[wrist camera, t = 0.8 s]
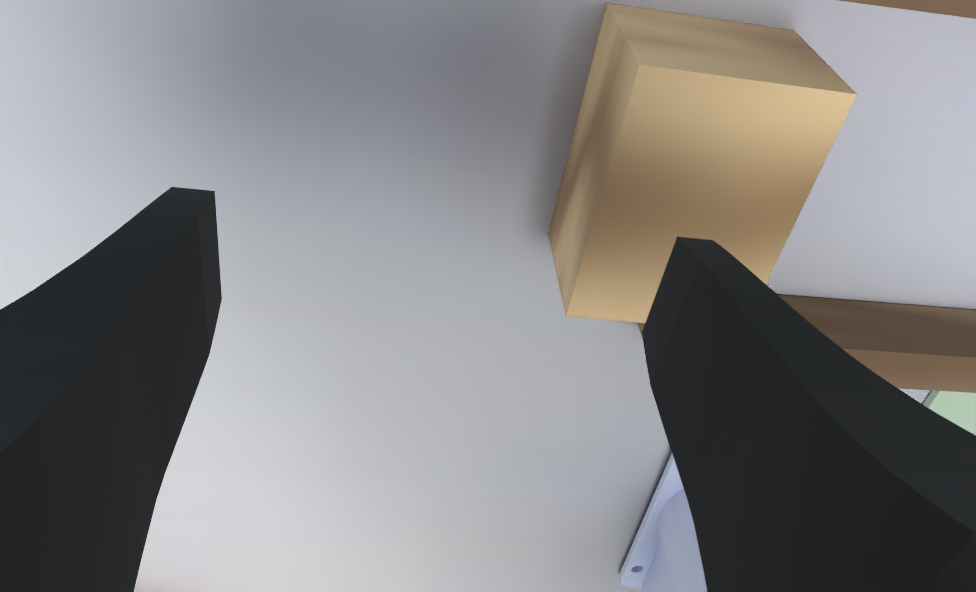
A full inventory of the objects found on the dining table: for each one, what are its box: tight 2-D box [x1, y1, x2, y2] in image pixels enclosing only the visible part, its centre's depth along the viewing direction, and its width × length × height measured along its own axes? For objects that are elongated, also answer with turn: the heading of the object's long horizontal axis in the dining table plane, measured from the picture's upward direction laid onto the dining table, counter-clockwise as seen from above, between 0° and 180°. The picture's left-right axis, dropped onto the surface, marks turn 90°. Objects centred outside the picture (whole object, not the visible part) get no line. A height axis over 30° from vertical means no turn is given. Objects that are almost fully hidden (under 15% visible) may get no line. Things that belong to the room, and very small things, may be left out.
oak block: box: [548, 3, 857, 323], centre depth 21 cm, size 7×5×4 cm
